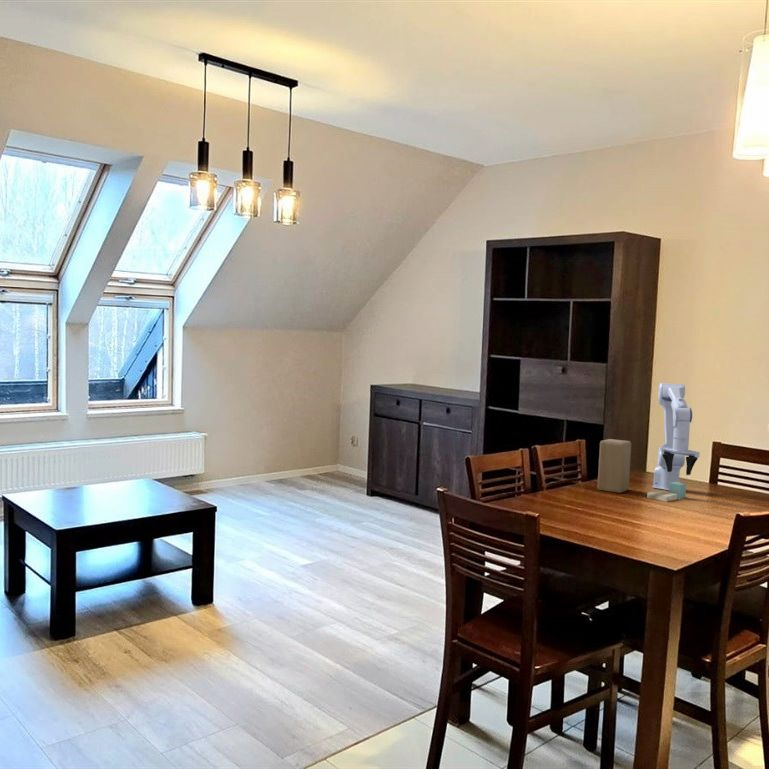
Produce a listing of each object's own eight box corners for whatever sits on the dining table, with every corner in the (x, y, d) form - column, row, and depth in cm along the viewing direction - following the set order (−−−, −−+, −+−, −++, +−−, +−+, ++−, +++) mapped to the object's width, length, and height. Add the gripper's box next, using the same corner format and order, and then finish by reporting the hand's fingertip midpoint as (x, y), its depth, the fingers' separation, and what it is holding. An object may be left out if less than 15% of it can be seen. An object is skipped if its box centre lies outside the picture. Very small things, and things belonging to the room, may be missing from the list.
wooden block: (605, 486, 316) (607, 438, 315) (629, 490, 310) (632, 441, 309) (596, 490, 308) (599, 440, 307) (621, 493, 302) (624, 443, 301)
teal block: (668, 496, 300) (669, 482, 299) (674, 495, 303) (675, 481, 302) (679, 499, 296) (680, 484, 296) (685, 497, 299) (686, 483, 299)
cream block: (647, 497, 296) (647, 492, 296) (657, 495, 301) (657, 490, 301) (666, 501, 290) (667, 496, 290) (677, 499, 295) (677, 494, 295)
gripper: (658, 436, 301) (656, 471, 302) (694, 441, 290) (692, 477, 291) (667, 435, 305) (665, 469, 306) (702, 440, 295) (700, 475, 296)
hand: (678, 473), depth 299 cm, fingers open, 7 cm apart
